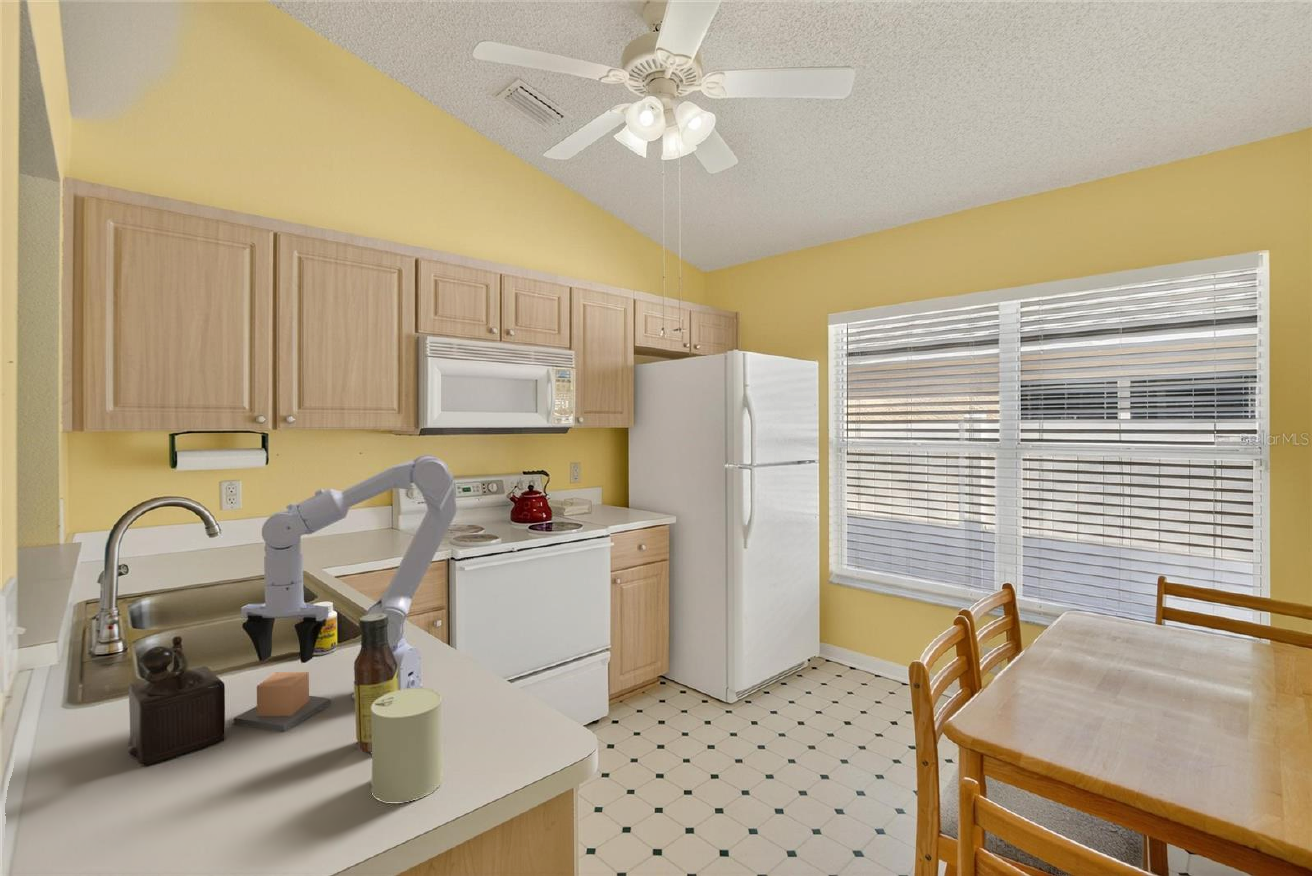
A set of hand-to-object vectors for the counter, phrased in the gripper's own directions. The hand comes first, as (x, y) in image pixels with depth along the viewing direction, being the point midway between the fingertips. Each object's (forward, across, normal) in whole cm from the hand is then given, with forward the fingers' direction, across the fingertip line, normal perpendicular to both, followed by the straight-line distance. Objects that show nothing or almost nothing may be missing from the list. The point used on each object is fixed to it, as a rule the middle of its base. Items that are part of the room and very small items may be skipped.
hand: (285, 659), depth 110 cm
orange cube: (+8, -1, +2) cm, 8 cm away
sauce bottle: (+9, -22, +10) cm, 25 cm away
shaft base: (+8, -1, +2) cm, 9 cm away
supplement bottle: (+9, +10, -26) cm, 29 cm away
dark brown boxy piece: (+9, +7, +14) cm, 18 cm away
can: (+9, -32, +19) cm, 38 cm away
